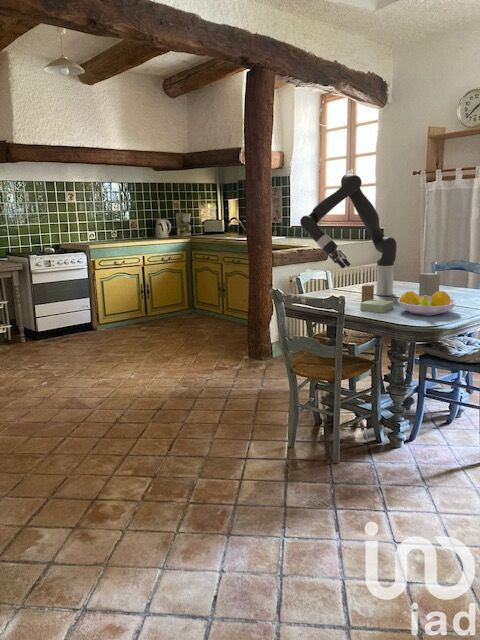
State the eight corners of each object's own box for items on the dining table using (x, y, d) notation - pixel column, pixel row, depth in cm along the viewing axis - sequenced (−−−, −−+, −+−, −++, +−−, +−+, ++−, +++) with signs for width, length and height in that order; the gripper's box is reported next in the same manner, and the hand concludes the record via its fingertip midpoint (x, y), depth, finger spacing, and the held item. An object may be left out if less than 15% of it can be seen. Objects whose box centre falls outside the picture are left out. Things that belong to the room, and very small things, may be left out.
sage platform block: (371, 306, 268) (371, 299, 268) (392, 309, 261) (393, 301, 260) (360, 310, 259) (360, 303, 259) (382, 313, 252) (383, 305, 251)
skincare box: (425, 305, 266) (427, 274, 263) (417, 302, 273) (418, 273, 270) (439, 303, 269) (441, 273, 265) (431, 301, 275) (432, 272, 272)
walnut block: (364, 302, 277) (364, 284, 275) (373, 303, 275) (373, 284, 272) (361, 304, 273) (361, 285, 271) (370, 305, 270) (371, 286, 268)
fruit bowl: (408, 305, 268) (409, 283, 265) (462, 310, 251) (464, 288, 248) (386, 315, 247) (386, 291, 244) (443, 322, 230) (445, 297, 227)
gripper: (327, 240, 270) (347, 263, 267) (336, 238, 282) (355, 260, 279) (317, 250, 274) (337, 272, 271) (326, 248, 286) (346, 269, 283)
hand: (346, 266), depth 275 cm, fingers open, 8 cm apart
